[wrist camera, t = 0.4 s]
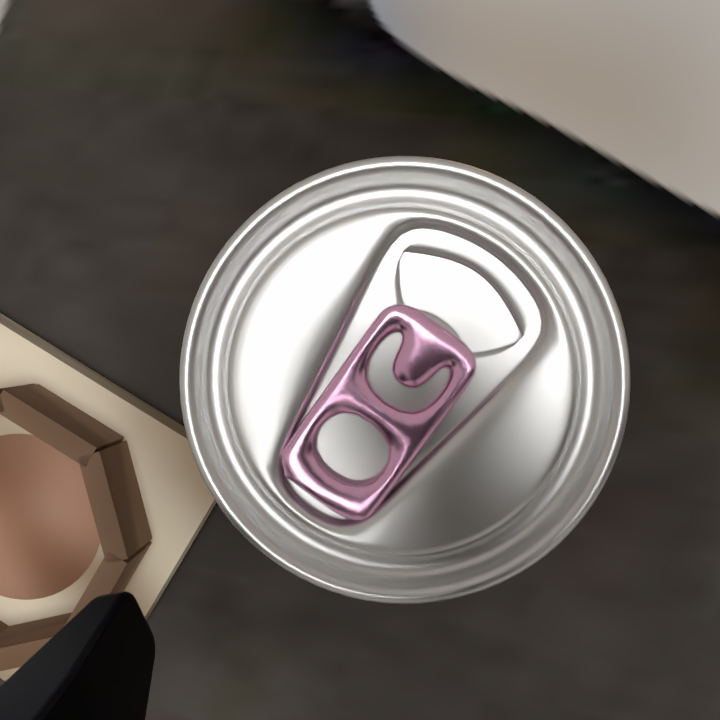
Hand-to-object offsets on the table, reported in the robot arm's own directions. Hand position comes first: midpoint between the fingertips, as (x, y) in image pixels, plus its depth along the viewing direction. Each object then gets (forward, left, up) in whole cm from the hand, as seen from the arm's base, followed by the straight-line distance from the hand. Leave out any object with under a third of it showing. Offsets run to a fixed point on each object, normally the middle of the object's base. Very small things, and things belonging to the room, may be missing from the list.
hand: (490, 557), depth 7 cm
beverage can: (+1, +2, -15) cm, 15 cm away
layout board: (-12, +11, -15) cm, 22 cm away
